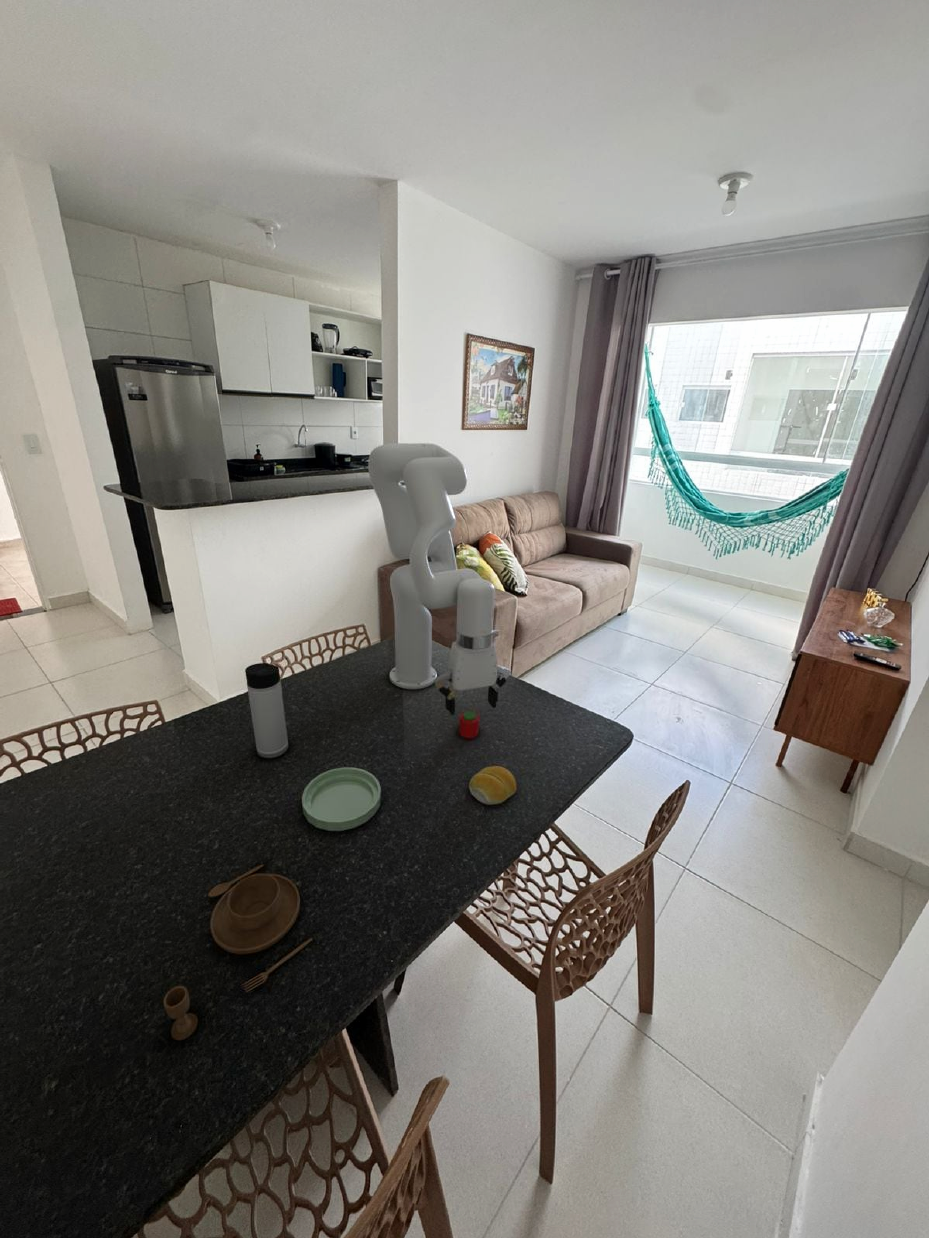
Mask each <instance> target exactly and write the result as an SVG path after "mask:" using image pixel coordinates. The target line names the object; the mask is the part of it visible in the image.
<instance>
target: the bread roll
mask: <svg viewBox="0 0 929 1238" xmlns="http://www.w3.org/2000/svg"><path fill="white" fill-rule="evenodd" d="M468 788H469V792H470V794H471V796H472V797H474V798H475V799H476V800H477V801H479V802H480V803H482V804H484V805H489V806H491V805H499V804H502V803H503V802H506V800H507V799H508V798H510V797H512V796H513V795H514V794H515V793H516V792H517V782H516V778H515V776H514V774H512V772H511V771H510V770H508V769H506V768H505V767H504V766H498V765H493V766H492V765H491V766H487V767H484V768H482V769H481V770H479V771H478V772H477V773H476V774H474V775H473V776H472V777H471V778H470V781H469V784H468Z"/></svg>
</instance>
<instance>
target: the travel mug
mask: <svg viewBox="0 0 929 1238" xmlns="http://www.w3.org/2000/svg"><path fill="white" fill-rule="evenodd" d="M244 673H245V680H246V687H247V694H248V695H247V696H248V700H249V701H248V702H249V707H250V715H251V722H252V727H253V734H254V740H255V746H256V747H255V748H256V753H257V754H258V756H260V757H262V758H265V759H272V758H277V757H280V756H282V755H283V754H285V753H286V752H287V750H288V749H289V738H288V731H287V723H286V722H287V721H286V714H285V713H286V712H285V706H284V698H283V697H284V696H283V688H282V681H281V676H280V674H281V673H280V667H279V666H278V665H275V664H270V663H268V662H258V663H254V664H250V665H248V666H247V667H246V668H245V670H244Z"/></svg>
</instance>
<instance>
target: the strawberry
mask: <svg viewBox="0 0 929 1238" xmlns="http://www.w3.org/2000/svg"><path fill="white" fill-rule="evenodd" d="M479 725H480V716H479V715H478V714H477V713H475V712H472V711H466V712H463V713H461V714H460V715H459V723H458V733H459V735H460V736H461V737H462V738H465V739H473V738H475V737H477V736H478V734H479Z"/></svg>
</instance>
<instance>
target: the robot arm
mask: <svg viewBox="0 0 929 1238" xmlns="http://www.w3.org/2000/svg"><path fill="white" fill-rule="evenodd" d="M367 468H368V476H369V480H370V483H371V485H372V489H373V491H374V492H375V494H376V497H377V499H378V502H379V504H380V507H381V511H382V518H383V523H384V527H385V528H384V529H385V533H386V537H387V543H388V547H389V551H390V553H391V555H392V557H394V558H395V559H398V560H409V564H405V565H402V566H401V565H400V566H399V567H397V568H396V569H394V570H393V571H392V573H391V575H390V578H389V585H390V591H391V596H392V601H393V602H392V603H393V612H394V659H395V660H394V661H395V662H394V664H395V665H394V667H393V668H392V669H391V670H390V672H389V680H390V682H391V683H392V684H393V685H395V686H396V687H398V688H402V689H404V690H405V689H406V690H421V689H425V688H428V687H429V686H431V685H433V684H434V685H435V686H436V689H437V690H438V692H439V693H440V694H442V695H443V696H444V697H445V705H444V706H445V709H446V711H448V712H449V714H450V715H451V716H454V715H455V714H456V699H455V695H457V693H458V692H459V691H467V690H473V689H480V688H486V687H488V689H487V702H488V704H489V705H490V707H491V708H493V709H496V708H497V703H498V701H499V692H500V691H501V689H502V687H503V686H504V685H505V684H506V683H507V679H508V678H509V676H510V675H511V670H510V669H509V668H508V667H505V666H503V665H500V664H498V657H497V649H496V643H495V642H494V638H495V637H498V636H499V630H498V629H494V617H495V615H494V613H495V597H496V596H495V595H496V594H495V593H496V588H495V585H494V584H493V583H492V582H491V581H490V580H487V579H484V578H482V577H481V575H480V574H479V573H478V572H477V571H476V570H474V569H472V568H467V567H466V568H458V563H457V559H456V553H455V548H454V542H453V538H452V534H451V531H452V530H453V528H454V527H455V526H456V524H457V519H456V514H455V512H454V509H453V506H452V502H451V500H450V497H449V496H456V495H460V494H462V493H463V492H465V489H466V488H467V483H468V476H467V471H466V468H465V466H464V464H463V463H462V461H461V460H460V459H459V458H458V457H457V456H456V455H454V454H453V453H451V452H449V451H448V450H447V449H445V448H443V447H441V446H440V445H438V444H435V443H429V442H427V443H425V442H424V443H423V442H421V443H420V442H419V443H416V442H415V443H413V442H412V443H409V442H408V443H407V442H402V443H401V442H399V443H386V444H381V445H378V446H376V447H374V448H373V449H372V450H371V452H370V454H369V456H368V464H367ZM401 482H403V483H404V485H403V483H401ZM428 557H430V560H431V561H429V559H428ZM454 606H456V635H455V636H456V640H455V641H452V643H451V647H450V651H449V656H448V664H447V665H448V666H447V670H446V671H444V673H442V674H440V675H439V676H438V673H437V671H436V669H435V668H434V667H433V666H432V646H433V645H432V643H433V640H432V639H433V618H432V614H431V612H430V611H429V610H439V609H444V608H449V607H454ZM498 673H499V674H500V675H499V676H498ZM447 681H448V682H449V683H448V685H447V686H444V683H446V682H447Z"/></svg>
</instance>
